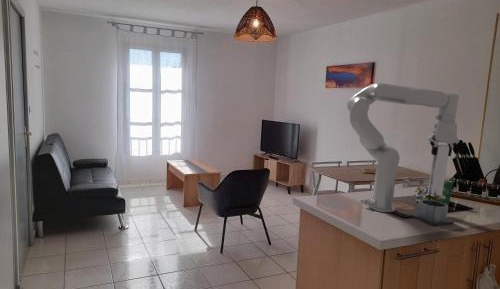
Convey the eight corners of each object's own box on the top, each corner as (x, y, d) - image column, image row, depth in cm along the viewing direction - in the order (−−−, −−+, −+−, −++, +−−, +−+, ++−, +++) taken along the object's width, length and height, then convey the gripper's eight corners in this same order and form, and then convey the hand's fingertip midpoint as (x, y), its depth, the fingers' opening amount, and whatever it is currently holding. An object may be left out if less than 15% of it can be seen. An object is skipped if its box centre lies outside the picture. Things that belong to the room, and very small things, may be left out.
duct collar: (433, 226, 160) (435, 208, 159) (410, 216, 172) (412, 200, 171) (453, 223, 165) (456, 206, 164) (429, 214, 177) (431, 198, 176)
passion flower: (416, 211, 198) (408, 191, 204) (434, 208, 199) (426, 188, 204) (425, 205, 188) (416, 184, 193) (444, 202, 189) (436, 181, 194)
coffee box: (449, 204, 198) (453, 181, 196) (449, 205, 195) (453, 181, 193) (433, 201, 202) (436, 178, 200) (433, 202, 199) (436, 179, 198)
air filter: (444, 196, 176) (452, 145, 172) (429, 194, 177) (437, 144, 174) (439, 193, 182) (447, 144, 179) (426, 191, 183) (433, 142, 180)
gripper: (433, 118, 170) (427, 155, 173) (468, 120, 171) (462, 157, 174) (425, 117, 178) (419, 152, 180) (458, 119, 179) (453, 155, 181)
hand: (440, 155), depth 177 cm, fingers closed on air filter, 6 cm apart
